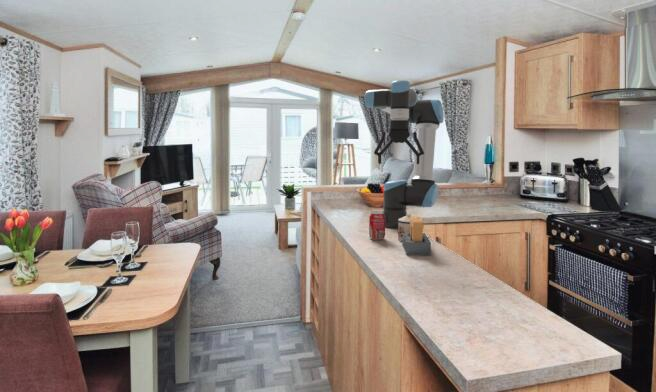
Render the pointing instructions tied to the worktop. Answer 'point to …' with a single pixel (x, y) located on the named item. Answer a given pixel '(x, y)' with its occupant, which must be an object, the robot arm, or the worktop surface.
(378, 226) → the soda can
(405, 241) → the gray slotted block
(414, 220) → the peach eraser-shaped slab
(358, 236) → the worktop surface
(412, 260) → the worktop surface
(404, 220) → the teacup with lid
